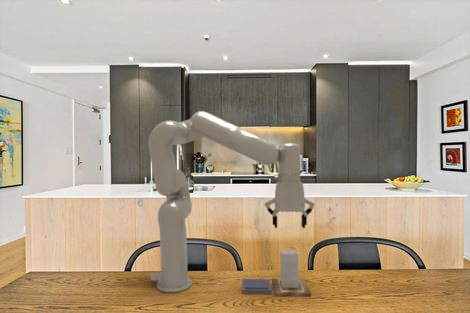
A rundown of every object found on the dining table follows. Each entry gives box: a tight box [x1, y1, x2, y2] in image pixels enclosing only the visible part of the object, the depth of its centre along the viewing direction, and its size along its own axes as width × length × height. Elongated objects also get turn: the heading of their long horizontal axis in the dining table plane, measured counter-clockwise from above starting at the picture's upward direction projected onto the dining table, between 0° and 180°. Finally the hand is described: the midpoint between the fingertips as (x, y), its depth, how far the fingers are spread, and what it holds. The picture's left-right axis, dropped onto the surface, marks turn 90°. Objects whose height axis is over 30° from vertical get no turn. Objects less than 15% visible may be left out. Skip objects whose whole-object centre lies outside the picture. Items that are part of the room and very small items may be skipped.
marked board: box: [271, 278, 312, 298], centre depth 110 cm, size 12×12×1 cm
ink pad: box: [241, 278, 273, 295], centre depth 111 cm, size 10×9×2 cm
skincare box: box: [279, 249, 300, 288], centre depth 110 cm, size 6×4×12 cm
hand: (289, 227), depth 110 cm, fingers open, 9 cm apart
